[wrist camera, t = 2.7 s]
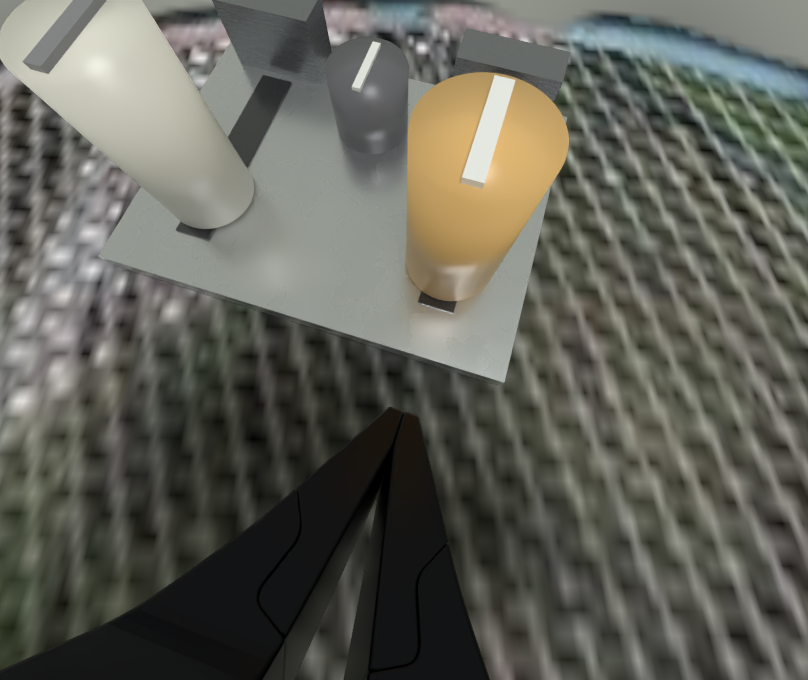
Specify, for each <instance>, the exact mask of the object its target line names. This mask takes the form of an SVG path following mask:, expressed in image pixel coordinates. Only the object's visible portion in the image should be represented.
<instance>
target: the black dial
mask: <svg viewBox="0 0 808 680" xmlns="http://www.w3.org/2000/svg"><path fill="white" fill-rule="evenodd" d="M325 76H326V80H327V84H328V89H329V93H330V97H331V102H332V106H333V111H334V115H335V119H336V124H337V128H338V132H339V135H340V138H341V139H342V141H343V142H344V143H345V144H346V145H347V146H348V147H349V148H351V149H353V150H355V151H357V152H360V153H364V154H380V153H384V152H387V151H390V150H392V149H393V148H395V147H396V146H398V145H399V144H400V143H401V142H402V141H403V139H404V138H405V136H406V133H407V129H408V82H409V65H408V61H407V58H406V56H405V54H404V53H403V52H402V51H401V50H400V49H399V48H398V47H397V46H396V45H394V44H392V43H391V42H389V41H386V40H383V39H379V38H372V37H363V38H357V39H353V40H349V41H347V42H345V43H343V44H341V45H339V46H338V47H337V48H336V49H334V50H333V51H332V53H331V54H330V55H329V57H328V59H327V61H326V64H325Z"/></svg>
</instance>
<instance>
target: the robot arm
mask: <svg viewBox="0 0 808 680" xmlns="http://www.w3.org/2000/svg"><path fill="white" fill-rule="evenodd" d="M402 416H403V417H402ZM401 419H402V420H401ZM387 464H388V465H387ZM386 467H387V468H386ZM383 477H384V478H383ZM382 480H383V481H382ZM381 483H382V484H381ZM380 486H381V488H380ZM379 489H380V491H379ZM378 492H379V496H378V500H377V506H376V511H375V516H374V522H373V527H372V532H371V537H370V543H369V548H368V553H367V559H366V564H365V569H364V575H363V580H362V585H361V590H360V596H359V601H358V606H357V612H356V617H355V622H354V628H353V633H352V638H351V643H350V649H349V654H348V659H347V665H346V670H345V675H344V680H490V678H489V675H488V672H487V670H486V667H485V664H484V661H483V658H482V655H481V652H480V649H479V646H478V643H477V640H476V637H475V634H474V631H473V628H472V625H471V622H470V619H469V615H468V612H467V609H466V606H465V603H464V600H463V596H462V593H461V589H460V585H459V582H458V578H457V574H456V570H455V566H454V562H453V558H452V554H451V550H450V546H449V545H448V544H447V543H448V538H447V533H446V529H445V525H444V521H443V516H442V512H441V508H440V504H439V499H438V495H437V491H436V487H435V482H434V478H433V474H432V470H431V465H430V461H429V457H428V453H427V448H426V444H425V440H424V436H423V431H422V427H421V423H420V419H419V417H418V416H417V415H415V414H412V413H409V412H404V414H403V411H402V410H400V409H396V408H393V407H388V408H387V409H386V410H385V411H384V412H383V413H381V414H380V415H379V416H378V417H377V418H376V419H375V420H373V421H372V422H371V423H370V424H369V425H368V426H367V427H365V428H364V429H363V430H362V431H361V432H360V433H359V434H358V435H356V436H355V437H354V438H353V439H352V440H351V441H350V442H348V443H347V444H346V445H345V446H344V447H343V448H342V449H340V450H339V451H338V452H337V453H336V454H335V455H334V456H332V457H331V458H330V459H329V460H328V461H327V462H326V463H325V464H323V465H322V466H321V467H320V468H319V469H318V470H317V471H315V472H314V473H313V474H312V475H311V476H310V477H309V478H307V479H306V480H305V481H304V482H303V483H302V484H301V485H299V486H298V487H297V490H294V491H292V492H291V493H290V494H289V495H288V496H287V497H286V498H284V499H283V500H282V501H281V502H280V503H279V504H277V505H276V506H275V507H274V508H273V509H271V510H270V511H269V512H268V513H267V514H265V515H264V516H263V517H262V518H261V519H259V520H258V521H257V522H255V523H254V524H253V525H251V526H250V527H249V528H247V529H246V530H245V531H243V532H242V533H241V534H239V535H238V536H237V537H235V538H234V539H233V540H231V541H230V542H228V543H227V544H226V545H224V546H223V547H221V548H220V549H219V550H217V551H216V552H214V553H213V554H212V555H210V556H209V557H207V558H206V559H205V560H203V561H202V562H200V563H199V564H198V565H196V566H195V567H193V568H192V569H190V570H189V571H188V572H186V573H185V574H183V575H182V576H181V577H179V578H178V579H176V580H175V581H174V582H172V583H171V584H169V585H168V586H167V587H165V588H164V589H162V590H161V591H159V592H158V593H157V594H155V595H154V596H152V597H151V598H149V599H148V600H146V601H145V602H143V603H141V604H140V605H138V606H137V607H135V608H133V609H132V610H130V611H128V612H126V613H125V614H123V615H121V616H119V617H117V618H115V619H114V620H112V621H110V622H108V623H106V624H104V625H101V626H99V627H97V628H95V629H93V630H91V631H88V632H86V633H84V634H81V635H79V636H77V637H75V638H72V639H70V640H68V641H66V642H63V643H61V644H59V645H56V646H54V647H52V648H50V649H47V650H45V651H43V652H41V653H38V654H36V655H34V656H32V657H29V658H27V659H25V660H22V661H20V662H18V663H16V664H13V665H11V666H9V667H7V668H4V669H2V670H0V680H294V679H295V677H296V674H297V672H298V670H299V668H300V666H301V663H302V661H303V659H304V657H305V654H306V652H307V650H308V648H309V646H310V643H311V641H312V639H313V637H314V634H315V632H316V630H317V628H318V626H319V623H320V621H321V619H322V617H323V614H324V612H325V610H326V608H327V606H328V603H329V601H330V599H331V597H332V595H333V592H334V590H335V588H336V586H337V583H338V581H339V579H340V577H341V575H342V572H343V570H344V568H345V566H346V563H347V561H348V559H349V557H350V555H351V552H352V550H353V548H354V546H355V543H356V541H357V539H358V537H359V535H360V532H361V530H362V528H363V526H364V523H365V521H366V519H367V517H368V515H369V512H370V510H371V508H372V506H373V504H374V501H375V499H376V497H377V494H378Z"/></svg>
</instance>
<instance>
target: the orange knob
mask: <svg viewBox="0 0 808 680" xmlns="http://www.w3.org/2000/svg"><path fill="white" fill-rule="evenodd" d="M568 146H569V136H568V131H567V126H566V123H565V121H564V118H563V116H562V114H561V113H560V111H559V109H558V108H557V107H556V105H555V104H554V103H553V102H552V101H551V100H550V98H549V97H547V96H546V95H545V94H544V93H543V92H542V91H540V90H539V89H537V88H536V87H534V86H533V85H531V84H529V83H527V82H525V81H523V80H520V79H518V78H515V77H512V76H508V75H504V74H499V73H490V72H475V73H467V74H462V75H458V76H455V77H452V78H449V79H447V80H444V81H442V82H440V83H439V84H437V85H435V86H434V87H432V88H431V89H430V90H429V91H427V92H426V93H425V94H424V95H423V96H422V97H421V99H420V100H419V101H418V103H417V104H416V106H415V107H414V109H413V112H412V114H411V117H410V120H409V126H408V157H407V218H406V266H407V270H408V273H409V275H410V277H411V279H412V281H413V282H414V284H415V285H416V286H417V287H418V288H419V289H420V290H421V291H423V292H424V293H425V294H427V295H429V296H431V297H433V298H436V299H439V300H443V301H461V300H465V299H468V298H471V297H473V296H475V295H476V294H478V293H479V292H481V291H482V290H483V289H484V288H485V287H486V286H487V284H488V283H489V282H490V280H491V278H492V277H493V275H494V274H495V272H496V271H497V269H498V267H499V266H500V264H501V263H502V261H503V260H504V258H505V256H506V255H507V253H508V252H509V250H510V249H511V247H512V245H513V244H514V242H515V241H516V239H517V238H518V236H519V234H520V233H521V231H522V230H523V228H524V226H525V225H526V223H527V222H528V220H529V219H530V217H531V215H532V214H533V212H534V211H535V209H536V208H537V206H538V204H539V203H540V201H541V200H542V198H543V197H544V195H545V193H546V192H547V190H548V189H549V187H550V186H551V184H552V182H553V181H554V179H555V178H556V176H557V174H558V173H559V171H560V170H561V168H562V166H563V164H564V162H565V159H566V156H567V153H568Z"/></svg>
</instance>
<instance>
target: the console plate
mask: <svg viewBox="0 0 808 680" xmlns="http://www.w3.org/2000/svg"><path fill="white" fill-rule="evenodd" d="M212 1H213V3H214V6H215V8H216V10H217V12H218V14H219V16H220V19H221V21H222V23H223V25H224V27H225V30H226V32H227V34H228V36H229V38H230V40H231V42H230V44H229V45H228V47H227V49H226V50H225V52H224V54H223V55H222V57H221V58H220V60H219V62H218V63H217V65H216V66H215V68H214V70H213V71H212V73H211V75H210V76H209V78H208V79H207V81H206V83H205V84H204V86H203V88H202V89H201V91H200V94H201V96H202V97H203V99H204V100H205V102H206V104H207V105H208V107H209V108H210V110H211V112H212V113H213V115H214V116H215V118H216V120H217V121H218V123H219V124H220V126H221V128H222V129H223V131H224V132H225V134H226V136H227V137H228V139H229V140H230V142H231V144H232V145H233V147H234V148H235V150H236V151H237V153H238V155H239V156H240V158H241V159H242V161H243V163H244V164H245V166H246V167H247V169H248V171H249V172H250V174H251V176H252V178H253V182H254V194H253V198H252V201H251V203H250V205H249V206H248V208H247V209H246V210H245V212H244V213H243V214H242V215H241V216H240V217H238V218H237V219H236V220H234V221H232V222H231V223H229V224H227V225H224V226H221V227H218V228H212V229H198V228H194V227H190V226H188V225H186V224H184V223H182V222H181V221H180V220H178V219H177V218H176V217H175V216H174V215H173V214H172V213H171V212H169V211H168V210H167V209H166V208H165V207H164V206H163V205H161V204H160V203H159V202H158V201H157V200H156V199H155V198H153V197H152V196H151V195H150V194H149V193H148V192H147V191H146V190H144V189H143V188H142V187H141V188H140V189H139V191H138V193H137V194H136V196H135V197H134V199H133V201H132V202H131V204H130V206H129V207H128V209H127V210H126V212H125V214H124V215H123V217H122V218H121V220H120V222H119V223H118V225H117V227H116V228H115V230H114V231H113V233H112V235H111V236H110V238H109V239H108V241H107V243H106V244H105V246H104V248H103V249H102V251H101V252H100V254H99V256H98V257H100V258H102V259H104V260H106V261H108V262H110V263H112V264H114V265H115V266H117V267H119V268H122V269H126V270H129V271H132V272H135V273H138V274H142V275H145V276H148V277H151V278H154V279H158V280H161V281H164V282H167V283H170V284H174V285H177V286H180V287H183V288H186V289H190V290H193V291H196V292H199V293H202V294H206V295H209V296H212V297H215V298H218V299H222V300H225V301H228V302H231V303H234V304H238V305H241V306H244V307H247V308H250V309H254V310H257V311H260V312H263V313H267V314H270V315H273V316H276V317H279V318H283V319H286V320H289V321H292V322H295V323H299V324H302V325H305V326H308V327H311V328H315V329H318V330H321V331H324V332H327V333H331V334H334V335H337V336H340V337H343V338H347V339H350V340H353V341H356V342H359V343H363V344H366V345H369V346H372V347H375V348H379V349H382V350H385V351H388V352H391V353H395V354H398V355H401V356H404V357H407V358H411V359H414V360H417V361H420V362H423V363H427V364H430V365H433V366H436V367H440V368H443V369H446V370H449V371H452V372H456V373H459V374H462V375H465V376H468V377H472V378H475V379H478V380H481V381H484V382H488V383H491V384H494V385H499V384H502V383H504V382H505V377H506V373H507V369H508V365H509V361H510V356H511V352H512V348H513V344H514V339H515V335H516V331H517V327H518V323H519V318H520V314H521V310H522V306H523V301H524V297H525V293H526V289H527V285H528V280H529V276H530V272H531V268H532V264H533V259H534V255H535V251H536V247H537V242H538V238H539V234H540V230H541V226H542V221H543V217H544V213H545V209H546V204H547V200H548V196H549V192H550V188H551V186H550V187H549V189H548V190H547V192H546V193H545V195H544V197H543V198H542V200H541V201H540V203H539V204H538V206H537V208H536V209H535V211H534V212H533V214H532V215H531V217H530V219H529V220H528V222H527V223H526V225H525V226H524V228H523V230H522V231H521V233H520V234H519V236H518V238H517V239H516V241H515V242H514V244H513V245H512V247H511V249H510V250H509V252H508V253H507V255H506V256H505V258H504V260H503V261H502V263H501V264H500V266H499V267H498V269H497V271H496V272H495V274H494V275H493V277H492V278H491V280H490V282H489V283H488V284H487V286H486V287H485V288H484V289H483V290H482V291H481V292H479V293H478V294H476V295H475V296H473V297H471V298H468V299H465V300H461V301H443V300H439V299H436V298H433V297H431V296H429V295H427V294H425V293H424V292H423V291H421V290H420V289H419V288H418V287H417V286H416V285H415V284H414V282H413V281H412V279H411V277H410V275H409V273H408V270H407V266H406V218H407V157H408V129H407V133H406V136H405V138H404V139H403V141H402V142H401V143H400V144H399V145H398V146H396V147H395V148H393V149H392V150H390V151H387V152H384V153H380V154H364V153H360V152H357V151H355V150H353V149H351V148H349V147H348V146H347V145H346V144H345V143H344V142H343V141H342V139H341V138H340V135H339V132H338V128H337V124H336V119H335V115H334V111H333V106H332V102H331V97H330V93H329V89H328V84H327V80H326V76H325V64H326V61H327V59H328V57H329V55H330V54H331V53H332V51H331V46H330V41H329V36H328V31H327V26H326V20H325V15H324V10H323V5H322V0H212ZM569 56H570V52H568V51H563V50H559V49H554V48H550V47H546V46H541V45H537V44H533V43H528V42H524V41H520V40H515V39H511V38H506V37H502V36H498V35H493V34H489V33H485V32H480V31H476V30H472V29H466V32H465V35H464V37H463V40H462V43H461V45H460V48H459V51H458V54H457V56H456V62H455V69H454V76H453V77H455V76H458V75H462V74H467V73H475V72H490V73H499V74H504V75H508V76H512V77H515V78H518V79H520V80H523V81H525V82H527V83H529V84H531V85H533V86H534V87H536V88H537V89H539V90H540V91H542V92H543V93H544V94H545V95H546V96H547V97H549V98H550V100H551V101H552V102H554V100H555V98H556V96H557V93H558V91H559V89H560V87H561V85H562V83H563V80H564V76H565V72H566V68H567V64H568V60H569ZM434 86H435V85H433V84H429V83H425V82H421V81H417V80H412V79H409V82H408V126H409V120H410V117H411V114H412V112H413V109H414V107H415V106H416V104H417V103H418V101H419V100H420V99H421V97H422V96H423V95H424V94H425V93H426V92H427V91H429V90H430V89H431V88H432V87H434ZM563 118H564V121H565V123H566V120H567V117H564V116H563Z"/></svg>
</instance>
